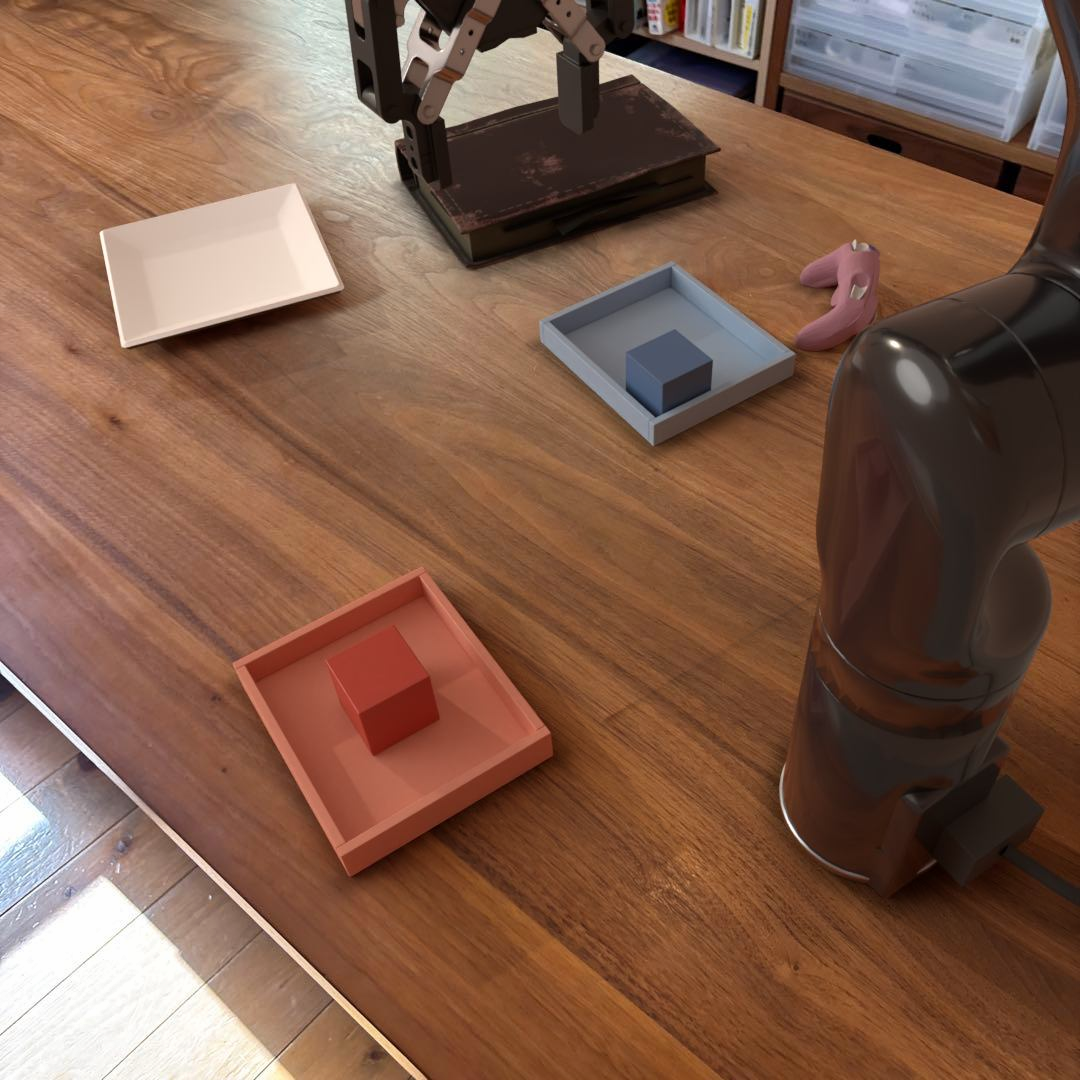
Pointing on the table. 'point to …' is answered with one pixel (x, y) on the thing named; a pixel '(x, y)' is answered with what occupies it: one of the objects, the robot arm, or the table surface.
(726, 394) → the blue tray
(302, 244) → the plate
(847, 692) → the robot arm
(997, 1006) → the table surface
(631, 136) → the diary
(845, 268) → the video game controller
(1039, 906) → the table surface
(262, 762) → the table surface
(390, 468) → the table surface
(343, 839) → the red tray
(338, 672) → the red block
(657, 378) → the blue block
